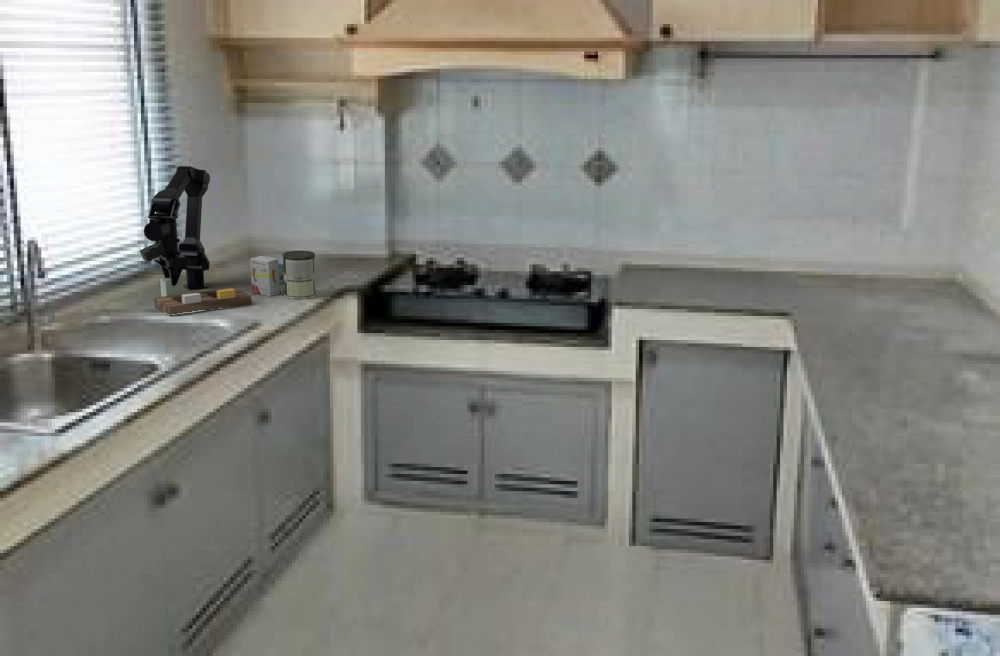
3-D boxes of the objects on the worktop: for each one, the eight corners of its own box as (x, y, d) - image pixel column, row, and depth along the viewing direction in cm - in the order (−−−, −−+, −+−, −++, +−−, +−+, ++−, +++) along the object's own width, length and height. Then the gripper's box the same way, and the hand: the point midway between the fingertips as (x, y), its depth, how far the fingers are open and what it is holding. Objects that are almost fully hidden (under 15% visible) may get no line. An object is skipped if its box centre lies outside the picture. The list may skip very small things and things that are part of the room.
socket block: (154, 307, 305) (153, 290, 304) (234, 296, 320) (234, 280, 319) (169, 316, 295) (168, 298, 294) (251, 304, 311) (250, 288, 309)
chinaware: (244, 279, 343) (243, 258, 341) (284, 274, 352) (283, 253, 350) (262, 288, 332) (261, 266, 330) (303, 283, 340) (302, 261, 338)
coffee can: (277, 295, 323) (276, 253, 319) (304, 290, 330) (303, 249, 326) (295, 301, 316) (294, 258, 312) (322, 296, 323) (321, 254, 319)
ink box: (250, 292, 325) (249, 257, 322) (261, 290, 329) (260, 255, 326) (269, 296, 321) (268, 261, 318) (280, 293, 325) (279, 258, 322)
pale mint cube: (161, 300, 313) (160, 278, 311) (177, 298, 316) (175, 277, 314) (167, 303, 309) (165, 282, 307) (182, 301, 312) (181, 280, 310)
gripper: (131, 232, 309) (135, 281, 314) (151, 242, 295) (155, 293, 299) (166, 229, 316) (170, 277, 320) (188, 239, 302) (191, 288, 306)
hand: (171, 284), depth 311 cm, fingers closed on pale mint cube, 5 cm apart
